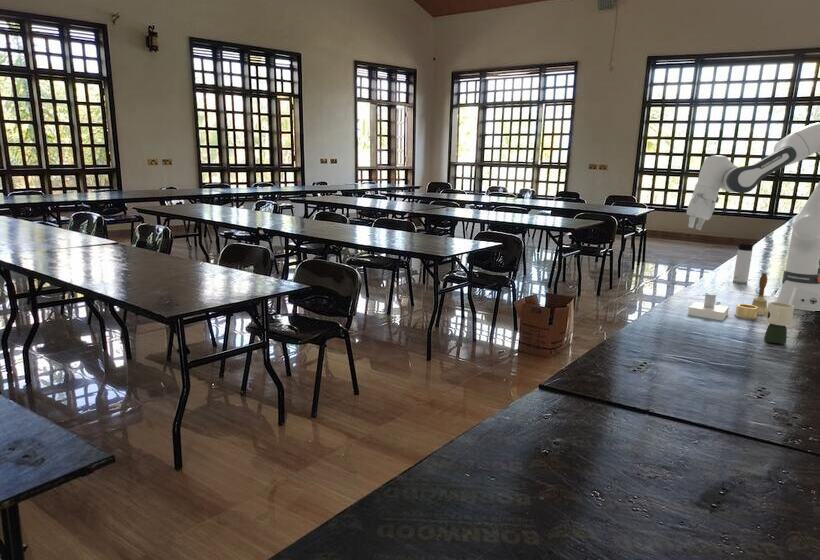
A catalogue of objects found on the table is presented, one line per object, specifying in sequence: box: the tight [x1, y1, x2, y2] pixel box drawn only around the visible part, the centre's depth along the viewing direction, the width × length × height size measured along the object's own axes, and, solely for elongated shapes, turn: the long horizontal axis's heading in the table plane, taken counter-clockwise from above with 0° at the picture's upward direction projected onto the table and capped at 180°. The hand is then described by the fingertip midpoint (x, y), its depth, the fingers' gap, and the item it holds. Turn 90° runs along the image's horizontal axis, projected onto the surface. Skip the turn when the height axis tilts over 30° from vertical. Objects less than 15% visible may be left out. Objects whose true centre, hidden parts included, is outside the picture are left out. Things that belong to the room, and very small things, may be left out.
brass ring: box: [735, 303, 758, 320], centre depth 222 cm, size 7×7×4 cm
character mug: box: [763, 301, 795, 345], centre depth 188 cm, size 11×7×13 cm, turn 140°
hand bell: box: [751, 272, 768, 316], centre depth 228 cm, size 8×8×16 cm
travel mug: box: [732, 243, 754, 285], centre depth 285 cm, size 6×7×20 cm
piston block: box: [687, 292, 730, 322], centre depth 222 cm, size 12×12×8 cm
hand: (694, 228), depth 235 cm, fingers open, 8 cm apart
